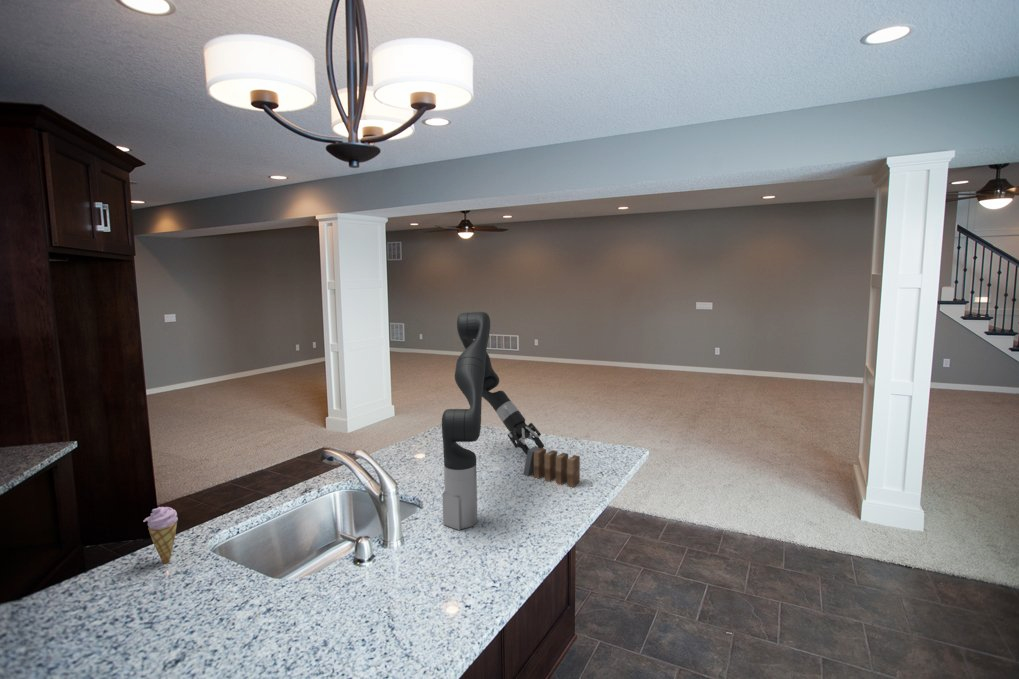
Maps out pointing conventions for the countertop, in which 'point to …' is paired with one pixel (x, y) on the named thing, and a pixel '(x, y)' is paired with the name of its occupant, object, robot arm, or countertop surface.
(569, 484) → the domino
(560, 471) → the domino
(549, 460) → the domino
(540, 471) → the domino
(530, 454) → the domino
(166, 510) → the ice cream cone
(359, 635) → the countertop surface
